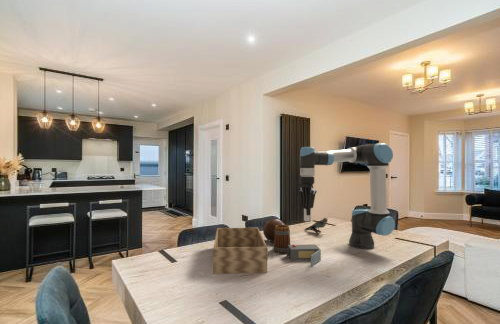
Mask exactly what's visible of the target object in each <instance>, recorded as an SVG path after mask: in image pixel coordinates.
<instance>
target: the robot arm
mask: <svg viewBox="0 0 500 324" xmlns="http://www.w3.org/2000/svg"><path fill="white" fill-rule="evenodd" d="M299 153H300V154H299V172H300V173H299V176H300V177H299V184H301V186H300V187H299V188H298V189H297V190H298V194H299V200H300V201H299V202H300V206H301V207H302V209H303V222H311V209H313V208H314V206H315V205H314V204H315V199H316V194H317V190H316V189H314V184H315V177H314V176H315V171H316V170H315V167H316V166H331V165H333V164H334V163H335V164H336V163H343V162H344V163H345V162H349V163H361V164H366V166H367V168H368V169H369V182H370V183H369V185H370V187H369V188H370V209H367V208H365V209H364V208H363V209H353V210H352V211H351V213H352V214H351V234H350V236H349V237H350V238H349V239H348V244H349V245H350V247H353V248H356V249H357V248H358V249H361V250H363V249H364V250H369V249H374V248H375V241H374V239H373V235H372V233H373V234H376V235H378V236H383V237H386V236H389V235H390V234H392V232H393V231H394V230H395V226H396V222H395V219H394V218H393V217H392V216H391V213H390V211H389V210H388V208H387V207H388V205H387V204H388V203H387V172H386V171H387V168H389V163H391V162H392V161H393V158H394V153H393V149H392V147H391V146H390V145H388V144H387V143H382V142H381V143H371V144H362V145H357V146H353V147H348V148H347V149H337V150H335V149H334V150H324V151H323V150H322V151H316V148H315V147H313V146H302V147H300V152H299ZM349 245H348V246H349Z"/></svg>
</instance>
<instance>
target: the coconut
mask: <svg viewBox="0 0 500 324" xmlns="http://www.w3.org/2000/svg"><path fill="white" fill-rule="evenodd" d="M282 224H284V223H283V221H281V220H280V219H275V218H272V219H269V220H268V221H266V222H265V224H264V226H263V228H262V229H263V231H262V233H263V235H264V237H265V239H266V240H267V241H269V242H272V243H274V237H275V226H276V225H282Z"/></svg>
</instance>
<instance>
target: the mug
mask: <svg viewBox="0 0 500 324" xmlns="http://www.w3.org/2000/svg"><path fill="white" fill-rule="evenodd" d="M288 245H291V230H290V226H289V225H287V224H285V223H283V224H282V225H276V226H275V237H274V242H273V248H272V249H273V252H274V253H277V254H281V255H284V254H286V248H288ZM286 255H287V254H286Z"/></svg>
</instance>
